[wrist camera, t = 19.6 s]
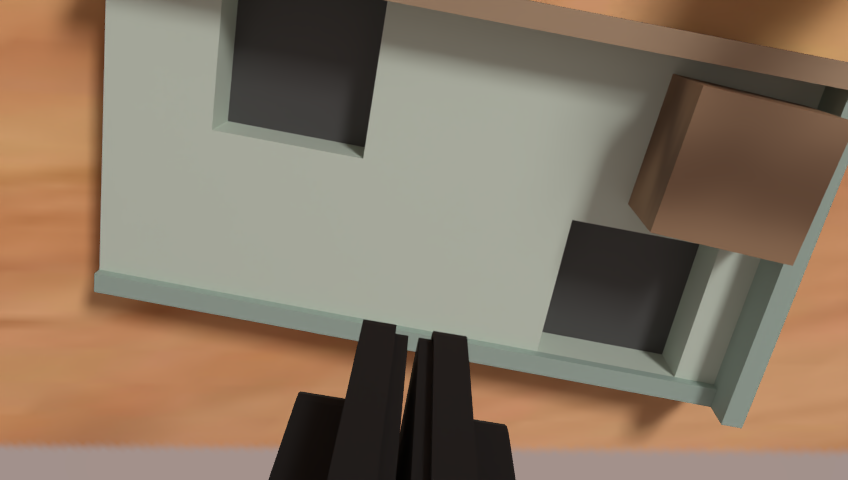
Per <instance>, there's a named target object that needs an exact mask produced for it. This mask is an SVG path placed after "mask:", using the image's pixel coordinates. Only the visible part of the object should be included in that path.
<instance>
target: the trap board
mask: <svg viewBox="0 0 848 480" xmlns="http://www.w3.org/2000/svg"><path fill="white" fill-rule="evenodd" d="M673 74H677V75H681V76H685V77H689V78H693V79H697V80H702V81H706V82H710V83H714V84H718V85H722V86H726V87H730V88H735V89H739V90H743V91H747V92H751V93H755V94H759V95H763V96H768V97H772V98H776V99H780V100H784V101H788V102H792V103H796V104H801V105H805V106H808V107H811V108H814V109H817V110H820V111H823V112H827V113H830V114H833V115H836V116H839V117H842V118H845V119H848V62H844V61H839V60H834V59H828V58H823V57H818V56H813V55H808V54H803V53H797V52H792V51H787V50H782V49H777V48H772V47H767V46H761V45H756V44H751V43H746V42H741V41H736V40H730V39H725V38H720V37H715V36H710V35H705V34H699V33H694V32H689V31H684V30H679V29H674V28H669V27H663V26H658V25H653V24H648V23H643V22H638V21H632V20H627V19H622V18H617V17H612V16H607V15H601V14H596V13H591V12H586V11H581V10H576V9H571V8H565V7H560V6H555V5H550V4H545V3H540V2H534V1H529V0H106V10H105V53H104V96H103V139H102V182H101V225H100V268H99V270H98V271H97V272H96V273H94V292H97V293H103V294H108V295H114V296H119V297H124V298H130V299H135V300H140V301H146V302H151V303H156V304H162V305H167V306H173V307H178V308H183V309H189V310H194V311H199V312H205V313H210V314H215V315H221V316H226V317H232V318H237V319H242V320H248V321H253V322H258V323H264V324H269V325H274V326H280V327H285V328H290V329H296V330H301V331H307V332H312V333H317V334H323V335H328V336H333V337H339V338H344V339H349V340H355V341H359V336H360V332H361V327H362V323H363V319H365V320H371V321H377V322H383V323H389V324H395V325H397V326H396V334H401V335H407V336H408V347H407V350H408V351H414V352H416V347H417V342H418V339H419V338H425V339H431V336H432V333H433V331H438V332H444V333H450V334H456V335H462V336H467V340H468V354H469V362H473V363H478V364H484V365H489V366H494V367H500V368H505V369H510V370H516V371H521V372H526V373H532V374H537V375H542V376H548V377H553V378H559V379H564V380H569V381H575V382H580V383H585V384H591V385H596V386H601V387H607V388H612V389H618V390H623V391H628V392H634V393H639V394H644V395H650V396H655V397H660V398H666V399H671V400H677V401H682V402H687V403H693V404H698V405H703V406H709V407H711V408H712V410H713V411H714V413H715V415H716V416H717V418H718V420H719V421H720V423H721V425H727V426H732V427H737V428H742V427H743V424H744V422H745V419H746V417H747V414H748V412H749V409H750V407H751V404H752V402H753V399H754V397H755V394H756V392H757V389H758V387H759V384H760V382H761V379H762V377H763V374H764V372H765V369H766V367H767V364H768V362H769V359H770V357H771V354H772V352H773V349H774V347H775V344H776V342H777V339H778V337H779V334H780V332H781V329H782V327H783V324H784V322H785V319H786V317H787V314H788V312H789V309H790V307H791V304H792V302H793V299H794V297H795V294H796V292H797V289H798V287H799V285H800V282H801V280H802V277H803V275H804V272H805V270H806V267H807V265H808V262H809V260H810V257H811V255H812V252H813V250H814V247H815V245H816V242H817V240H818V237H819V235H820V232H821V230H822V227H823V225H824V222H825V220H826V217H827V215H828V212H829V210H830V207H831V205H832V202H833V200H834V197H835V195H836V192H837V190H838V187H839V185H840V182H841V180H842V177H843V175H844V172H845V170H846V167H847V165H848V143H847V145H846V148H845V150H844V152H843V154H842V157H841V159H840V161H839V163H838V166H837V168H836V170H835V172H834V175H833V177H832V179H831V181H830V184H829V186H828V188H827V190H826V193H825V195H824V197H823V199H822V201H821V204H820V206H819V208H818V210H817V213H816V215H815V217H814V219H813V222H812V224H811V226H810V228H809V231H808V233H807V235H806V237H805V240H804V242H803V244H802V246H801V249H800V251H799V253H798V255H797V258H796V260H795V262H794V264H793V266H791V265H786V264H782V263H778V262H774V261H769V260H765V259H761V258H757V257H752V256H748V255H744V254H740V253H735V252H731V251H727V250H723V249H718V248H714V247H710V246H706V245H701V244H697V243H693V242H689V241H684V240H680V239H676V238H672V237H667V236H663V235H659V234H655V233H650V231H649V230H648V229H647V228H646V226H645V225H644V224H643V223H642V221H641V220H640V219H639V217H638V216H637V215H636V214H635V212H634V211H633V210H632V209H631V207H630V206H629V205H628V203H629V200H630V197H631V194H632V191H633V188H634V185H635V182H636V179H637V177H638V174H639V171H640V168H641V165H642V162H643V159H644V156H645V153H646V150H647V148H648V145H649V142H650V139H651V136H652V133H653V130H654V127H655V124H656V121H657V119H658V116H659V113H660V110H661V107H662V104H663V101H664V98H665V95H666V93H667V90H668V87H669V84H670V81H671V78H672V75H673Z"/></svg>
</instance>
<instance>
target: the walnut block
mask: <svg viewBox="0 0 848 480" xmlns="http://www.w3.org/2000/svg"><path fill="white" fill-rule="evenodd" d="M847 143H848V119H845V118H842V117H839V116H836V115H833V114H830V113H827V112H823V111H820V110H817V109H814V108H811V107H808V106H805V105H801V104H796V103H792V102H788V101H784V100H780V99H776V98H772V97H768V96H763V95H759V94H755V93H751V92H747V91H743V90H739V89H735V88H730V87H726V86H722V85H718V84H714V83H710V82H706V81H702V80H697V79H693V78H689V77H685V76H681V75H677V74H673V75H672V78H671V81H670V84H669V87H668V90H667V93H666V95H665V98H664V101H663V104H662V107H661V110H660V113H659V116H658V119H657V121H656V124H655V127H654V130H653V133H652V136H651V139H650V142H649V145H648V148H647V150H646V153H645V156H644V159H643V162H642V165H641V168H640V171H639V174H638V177H637V179H636V182H635V185H634V188H633V191H632V194H631V197H630V200H629V203H628V205H629V206H630V207H631V209H632V210H633V211H634V212H635V214H636V215H637V216H638V217H639V219H640V220H641V221H642V223H643V224H644V225H645V226H646V228H647V229H648V230H649V231H650V233H655V234H659V235H663V236H667V237H672V238H676V239H680V240H684V241H689V242H693V243H697V244H701V245H706V246H710V247H714V248H718V249H723V250H727V251H731V252H735V253H740V254H744V255H748V256H752V257H757V258H761V259H765V260H769V261H774V262H778V263H782V264H786V265H791V266H793V264H794V262H795V260H796V258H797V255H798V253H799V251H800V249H801V246H802V244H803V242H804V240H805V237H806V235H807V233H808V231H809V228H810V226H811V224H812V222H813V219H814V217H815V215H816V213H817V210H818V208H819V206H820V204H821V201H822V199H823V197H824V195H825V193H826V190H827V188H828V186H829V184H830V181H831V179H832V177H833V175H834V172H835V170H836V168H837V166H838V163H839V161H840V159H841V157H842V154H843V152H844V150H845V148H846V145H847Z"/></svg>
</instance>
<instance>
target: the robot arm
mask: <svg viewBox="0 0 848 480" xmlns="http://www.w3.org/2000/svg"><path fill="white" fill-rule="evenodd" d="M396 326H397V325H395V324H389V323H383V322H377V321H371V320H365V319H363V323H362V327H361V332H360V336H359V341H358V345H357V349H356V354H355V358H354V363H353V367H352V372H351V376H350V380H349V385H348V389H347V394H346V398H345V399H343V398H337V397H331V396H325V395H319V394H312V393H306V392H299V393H298V396H297V398H296V401H295V404H294V407H293V410H292V413H291V416H290V419H289V421H288V424H287V427H286V430H285V433H284V436H283V439H282V442H281V445H280V448H279V451H278V454H277V457H276V460H275V462H274V465H273V468H272V471H271V474H270V477H269V480H515V473H514V466H513V460H512V453H511V446H510V440H509V433H508V429H507V426H506V425H505V424H499V423H493V422H486V421H480V420H474V419H473V407H472V394H471V380H470V367H469V354H468V340H467V336H462V335H456V334H450V333H444V332H438V331H433V333H432V336H431V339H425V338H419V339H418V342H417V347H416V352H415V357H414V363H413V368H412V373H411V378H410V383H409V388H408V394H407V399H406V404H405V409H404V414H403V419H402V425H401V414H402V403H403V391H404V380H405V369H406V358H407V347H408V336H407V335H401V334H396ZM400 425H401V430H400Z"/></svg>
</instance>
